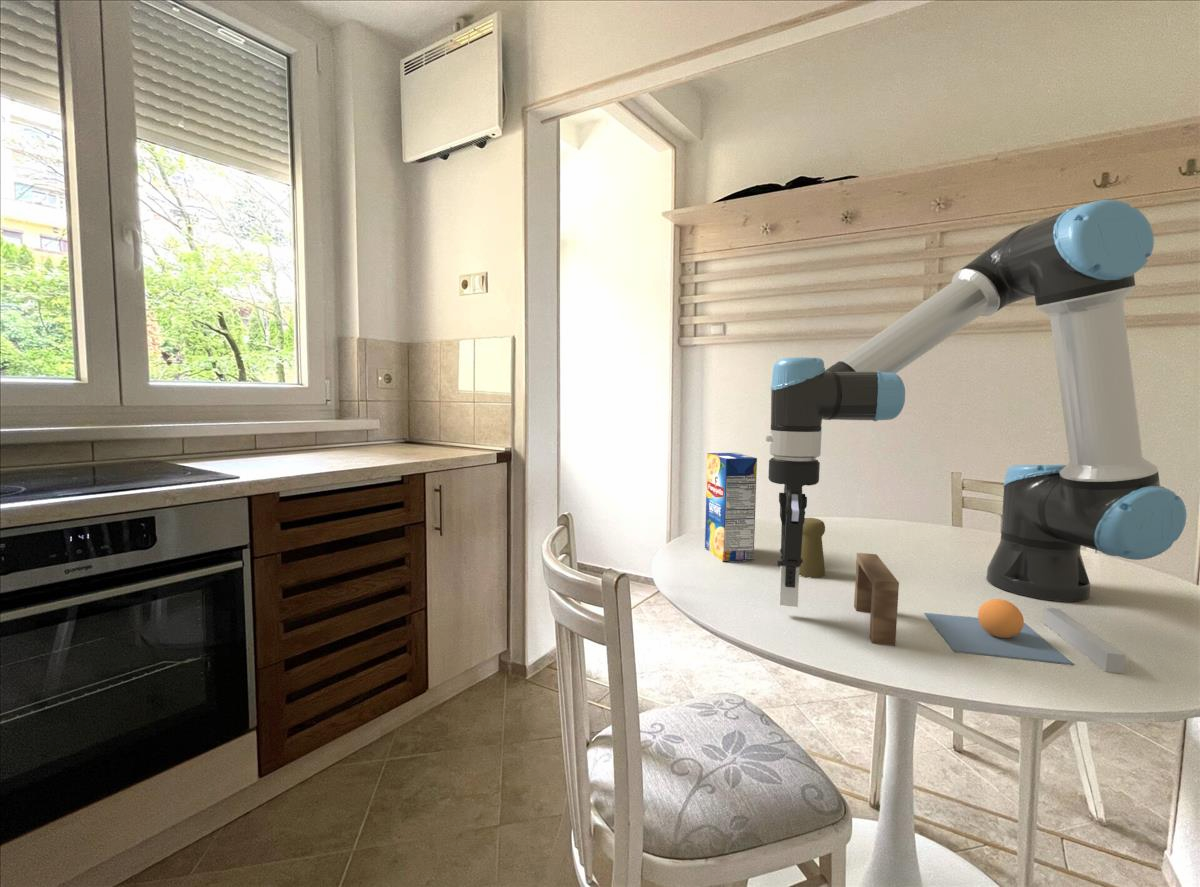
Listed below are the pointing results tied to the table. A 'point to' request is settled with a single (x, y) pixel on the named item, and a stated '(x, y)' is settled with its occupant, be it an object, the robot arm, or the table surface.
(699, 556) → the table surface
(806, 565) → the cork
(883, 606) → the bridge
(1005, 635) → the ball
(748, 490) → the beverage box
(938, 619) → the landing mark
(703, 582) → the table surface
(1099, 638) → the wall
